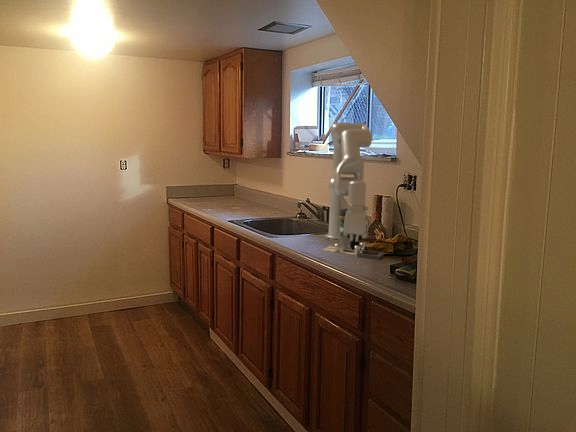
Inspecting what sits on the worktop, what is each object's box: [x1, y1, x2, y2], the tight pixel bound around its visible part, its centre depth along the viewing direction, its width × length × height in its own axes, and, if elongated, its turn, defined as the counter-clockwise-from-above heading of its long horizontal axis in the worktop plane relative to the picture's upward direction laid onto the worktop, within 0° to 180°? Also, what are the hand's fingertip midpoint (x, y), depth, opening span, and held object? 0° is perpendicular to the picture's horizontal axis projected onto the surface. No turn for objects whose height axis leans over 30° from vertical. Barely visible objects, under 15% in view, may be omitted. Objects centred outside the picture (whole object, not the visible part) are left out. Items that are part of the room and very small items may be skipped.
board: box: [320, 246, 361, 256], centre depth 237 cm, size 12×18×1 cm, turn 67°
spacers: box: [334, 241, 366, 255], centre depth 236 cm, size 11×11×4 cm
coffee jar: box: [337, 208, 360, 246], centre depth 246 cm, size 10×8×19 cm
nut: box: [337, 236, 352, 251], centre depth 236 cm, size 4×5×6 cm
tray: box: [357, 249, 384, 260], centre depth 226 cm, size 9×9×2 cm
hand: (354, 249), depth 235 cm, fingers closed
